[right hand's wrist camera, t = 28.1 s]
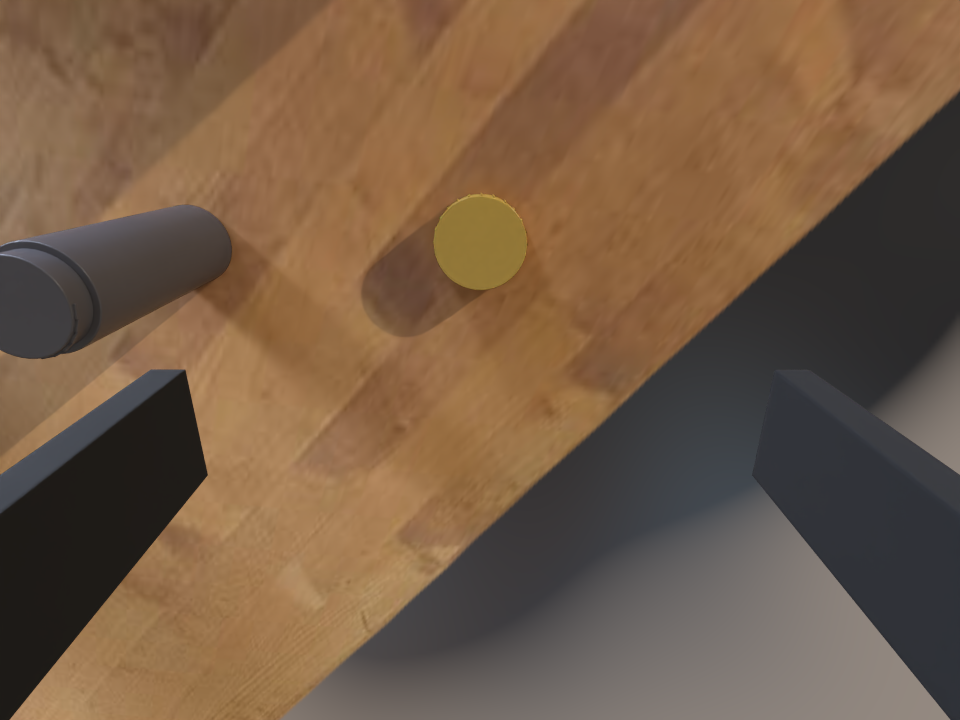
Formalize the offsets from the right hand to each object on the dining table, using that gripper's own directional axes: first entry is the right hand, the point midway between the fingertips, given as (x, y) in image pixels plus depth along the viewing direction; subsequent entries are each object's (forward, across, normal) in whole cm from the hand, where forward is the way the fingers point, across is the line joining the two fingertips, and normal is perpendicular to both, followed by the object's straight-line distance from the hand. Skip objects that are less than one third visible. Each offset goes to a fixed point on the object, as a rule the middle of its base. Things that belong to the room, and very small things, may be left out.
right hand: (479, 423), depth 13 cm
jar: (+26, +19, 0) cm, 32 cm away
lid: (+25, 0, 0) cm, 25 cm away
